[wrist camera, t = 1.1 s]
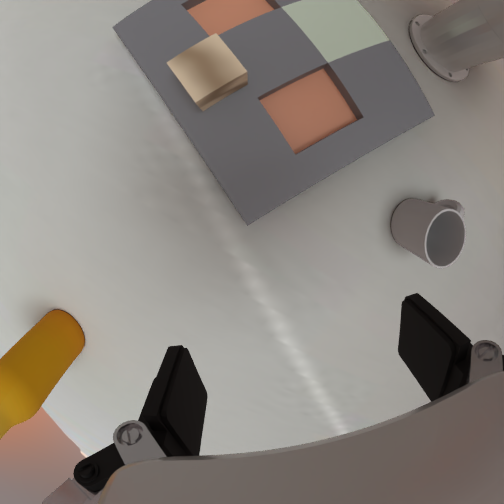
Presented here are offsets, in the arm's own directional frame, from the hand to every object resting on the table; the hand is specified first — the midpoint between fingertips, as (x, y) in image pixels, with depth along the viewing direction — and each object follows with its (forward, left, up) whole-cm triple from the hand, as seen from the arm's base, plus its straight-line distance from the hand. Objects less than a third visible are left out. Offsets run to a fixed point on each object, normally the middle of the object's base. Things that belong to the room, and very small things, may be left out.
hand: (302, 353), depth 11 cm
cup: (-19, +10, -25) cm, 33 cm away
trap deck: (-13, -19, -25) cm, 34 cm away
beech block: (-4, -19, -22) cm, 29 cm away
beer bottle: (+40, -4, -25) cm, 47 cm away
